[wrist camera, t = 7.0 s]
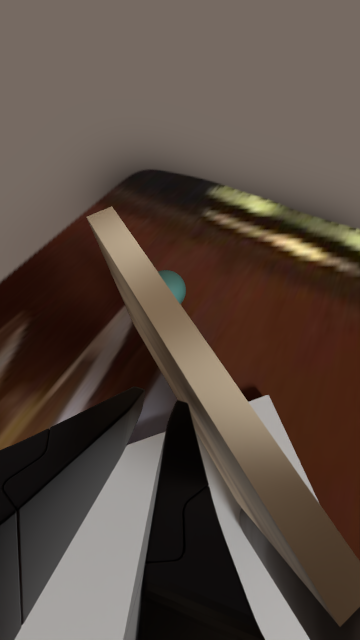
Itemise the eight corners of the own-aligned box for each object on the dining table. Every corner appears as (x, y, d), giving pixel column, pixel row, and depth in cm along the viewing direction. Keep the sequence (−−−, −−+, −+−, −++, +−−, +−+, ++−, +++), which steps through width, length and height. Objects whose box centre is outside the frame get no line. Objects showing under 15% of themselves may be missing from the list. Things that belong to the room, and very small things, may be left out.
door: (309, 510, 13) (560, 655, 4) (256, 555, 12) (431, 841, 4) (170, 305, 18) (159, 186, 10) (127, 328, 17) (73, 222, 9)
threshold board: (263, 397, 17) (268, 394, 16) (365, 619, 12) (380, 634, 11) (-56, 511, 14) (-73, 516, 13) (-78, 843, 10) (-105, 886, 9)
